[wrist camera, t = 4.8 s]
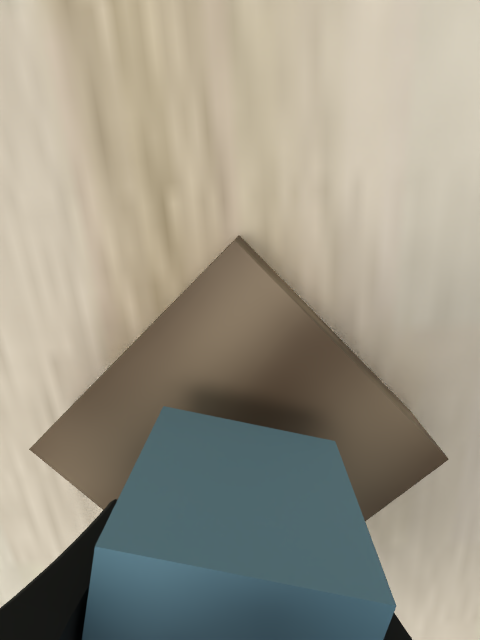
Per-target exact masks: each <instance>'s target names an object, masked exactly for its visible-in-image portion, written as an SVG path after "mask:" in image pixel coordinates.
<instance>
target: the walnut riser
mask: <svg viewBox="0 0 480 640" xmlns="http://www.w3.org/2000/svg"><path fill="white" fill-rule="evenodd" d="M163 406H165V407H170V408H175V409H180V410H185V411H190V412H195V413H200V414H205V415H210V416H214V417H219V418H224V419H229V420H234V421H239V422H244V423H249V424H254V425H259V426H264V427H268V428H273V429H278V430H283V431H288V432H293V433H298V434H303V435H308V436H313V437H317V438H322V439H327V440H332V441H335V442H336V444H337V447H338V450H339V453H340V455H341V458H342V461H343V463H344V466H345V469H346V471H347V474H348V477H349V480H350V482H351V485H352V488H353V490H354V493H355V496H356V498H357V501H358V504H359V507H360V509H361V512H362V515H363V517H364V520H365V521H366V520H367V519H369V518H370V517H372V516H373V515H374V514H376V513H377V512H378V511H380V510H381V509H382V508H384V507H385V506H386V505H388V504H389V503H390V502H392V501H393V500H394V499H396V498H397V497H399V496H400V495H401V494H403V493H404V492H405V491H407V490H408V489H409V488H411V487H412V486H413V485H415V484H416V483H417V482H419V481H420V480H421V479H423V478H424V477H426V476H427V475H428V474H430V473H431V472H432V471H434V470H435V469H436V468H438V467H439V466H440V465H442V464H443V463H444V462H446V461H447V460H448V458H447V456H446V455H445V454H444V453H443V451H442V450H441V449H440V448H439V446H438V445H437V444H436V443H435V441H434V440H433V439H432V438H431V436H430V435H429V434H428V433H427V431H426V430H425V429H424V428H423V426H422V425H421V424H420V423H419V421H418V420H417V419H416V418H415V416H414V415H413V414H412V413H411V411H410V410H409V409H408V408H407V407H406V406H405V405H404V404H403V403H402V402H401V401H400V400H399V399H398V398H397V397H396V396H395V395H394V394H393V393H392V392H391V391H390V390H389V389H388V388H387V387H386V386H385V385H384V384H383V383H382V382H381V381H380V380H379V378H378V377H377V376H376V375H375V374H374V373H373V372H372V371H371V370H370V369H369V368H368V367H367V366H366V365H365V364H364V363H363V362H362V361H361V360H360V359H359V358H358V357H357V356H356V355H355V354H354V353H353V352H352V351H351V350H350V349H349V348H348V347H347V346H346V345H345V344H344V343H343V341H342V340H341V339H340V338H339V337H338V336H337V335H336V334H335V333H334V332H333V331H332V330H331V329H330V328H329V327H328V326H327V325H326V324H325V323H324V322H323V321H322V320H321V319H320V318H319V317H318V316H317V315H316V314H315V313H314V312H313V311H312V310H311V309H310V308H309V307H308V306H307V304H306V303H305V302H304V301H303V300H302V299H301V298H300V297H299V296H298V295H297V294H296V293H295V292H294V291H293V290H292V289H291V288H290V287H289V286H288V285H287V284H286V283H285V282H284V281H283V280H282V279H281V278H280V277H279V276H278V275H277V274H276V273H275V272H274V271H273V270H272V269H271V267H270V266H269V265H268V264H267V263H266V262H265V261H264V260H263V259H262V258H261V257H260V256H259V255H258V254H257V253H256V252H255V251H254V250H253V249H252V248H251V247H250V246H249V245H248V244H247V243H246V242H245V241H244V240H243V239H242V238H241V237H240V236H238V237H237V238H236V239H235V240H234V241H233V242H232V243H231V244H230V245H229V246H228V247H227V248H226V249H225V250H224V251H223V252H222V253H221V254H220V255H219V256H218V257H217V258H216V259H215V260H214V261H213V263H212V264H211V265H210V266H209V267H208V268H207V269H206V270H205V271H204V272H203V273H202V274H201V275H200V276H199V277H198V278H197V279H196V280H195V281H194V282H193V283H192V284H191V285H190V286H189V287H188V288H187V289H186V290H185V291H184V292H183V293H182V294H181V295H180V296H179V297H178V298H177V299H176V300H175V301H174V302H173V303H172V304H171V305H170V306H169V307H168V308H167V309H166V310H165V311H164V312H163V313H162V314H161V315H160V316H159V317H158V318H157V319H156V320H155V321H154V323H153V324H152V325H151V326H150V327H149V328H148V329H147V330H146V331H145V332H144V333H143V334H142V335H141V336H140V337H139V338H138V339H137V340H136V341H135V342H134V343H133V344H132V345H131V346H130V347H129V348H128V349H127V350H126V351H125V352H124V353H123V354H122V355H121V356H120V357H119V358H118V359H117V360H116V361H115V362H114V363H113V364H112V365H111V366H110V367H109V368H108V369H107V370H106V371H105V372H104V373H103V374H102V375H101V376H100V377H99V378H98V379H97V380H96V381H95V383H94V384H93V385H92V386H91V387H90V388H89V389H88V390H87V391H86V392H85V393H84V394H83V395H82V396H81V397H80V398H79V399H78V400H77V401H76V402H75V403H74V404H73V405H72V406H71V407H70V408H69V409H68V410H67V411H66V412H65V413H64V414H63V415H62V416H61V417H60V418H59V419H58V420H57V421H56V422H55V423H54V424H53V425H52V426H51V428H50V429H49V430H48V431H47V432H46V433H45V434H44V435H43V436H42V437H41V438H40V439H39V440H38V441H37V442H36V443H35V444H34V445H33V446H32V447H31V448H30V449H29V450H31V451H32V452H33V453H34V454H36V455H37V456H38V457H39V458H41V459H42V460H43V461H44V462H45V463H47V464H48V465H49V466H50V467H52V468H53V469H54V470H55V471H56V472H58V473H59V474H60V475H61V476H63V477H64V478H65V479H66V480H67V481H69V482H70V483H71V484H72V485H74V486H75V487H76V488H77V489H78V490H80V491H81V492H82V493H83V494H85V495H86V496H87V497H88V498H89V499H91V500H92V501H93V502H94V503H96V504H97V505H98V506H99V507H101V508H102V509H103V510H104V509H105V508H106V507H107V505H108V504H109V503H110V502H111V501H113V500H115V499H117V500H118V498H119V496H120V494H121V492H122V490H123V488H124V486H125V484H126V482H127V480H128V478H129V476H130V474H131V472H132V469H133V467H134V465H135V463H136V461H137V459H138V457H139V455H140V453H141V451H142V449H143V447H144V445H145V443H146V441H147V439H148V437H149V435H150V433H151V431H152V428H153V426H154V424H155V422H156V420H157V418H158V416H159V414H160V412H161V410H162V408H163Z"/></svg>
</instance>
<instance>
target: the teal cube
mask: <svg viewBox="0 0 480 640" xmlns="http://www.w3.org/2000/svg"><path fill="white" fill-rule="evenodd" d="M395 608H396V604H395V601H394V598H393V596H392V593H391V590H390V588H389V585H388V582H387V579H386V577H385V574H384V571H383V569H382V566H381V563H380V561H379V558H378V555H377V552H376V550H375V547H374V544H373V542H372V539H371V536H370V534H369V531H368V528H367V525H366V523H365V520H364V517H363V515H362V512H361V509H360V507H359V504H358V501H357V498H356V496H355V493H354V490H353V488H352V485H351V482H350V480H349V477H348V474H347V471H346V469H345V466H344V463H343V461H342V458H341V455H340V453H339V450H338V447H337V444H336V442H335V441H332V440H327V439H322V438H317V437H313V436H308V435H303V434H298V433H293V432H288V431H283V430H278V429H273V428H268V427H264V426H259V425H254V424H249V423H244V422H239V421H234V420H229V419H224V418H219V417H214V416H210V415H205V414H200V413H195V412H190V411H185V410H180V409H175V408H170V407H165V406H163V408H162V410H161V412H160V414H159V416H158V418H157V420H156V422H155V424H154V426H153V428H152V431H151V433H150V435H149V437H148V439H147V441H146V443H145V445H144V447H143V449H142V451H141V453H140V455H139V457H138V459H137V461H136V463H135V465H134V467H133V469H132V472H131V474H130V476H129V478H128V480H127V482H126V484H125V486H124V488H123V490H122V492H121V494H120V496H119V498H118V500H117V502H116V504H115V506H114V508H113V510H112V512H111V515H110V517H109V519H108V521H107V523H106V525H105V527H104V529H103V531H102V533H101V535H100V537H99V539H98V541H97V543H96V545H95V549H94V557H93V564H92V571H91V578H90V585H89V593H88V600H87V607H86V614H85V621H84V628H83V636H82V640H383V639H384V637H385V634H386V631H387V629H388V626H389V624H390V621H391V618H392V616H393V613H394V611H395Z"/></svg>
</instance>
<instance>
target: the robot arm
mask: <svg viewBox="0 0 480 640" xmlns="http://www.w3.org/2000/svg"><path fill="white" fill-rule="evenodd" d="M116 502H117V499H115V500H113V501H111V502H110V503H109V504H108V505H107V507H106V508H105V509H104V510H103V511H102V512H101V513H100V515H99V516H98V517H97V518H96V519H95V520H94V521H93V522H92V523H91V525H90V526H89V527H88V528H87V529H86V530H85V531H84V532H83V533H82V534H81V535H80V536H79V537H78V538H77V539H76V540H75V541H74V542H73V543H72V544H71V545H70V546H69V547H68V548H67V549H66V550H65V551H64V552H63V553H62V554H61V555H60V556H59V557H58V558H57V559H56V560H55V561H54V562H53V563H51V564H50V565H49V566H48V567H47V568H46V569H45V570H44V571H43V572H42V573H40V574H39V575H38V576H37V577H36V578H35V579H34V580H33V581H31V582H30V583H29V584H28V585H27V586H26V587H25V588H24V589H22V590H21V591H20V592H19V593H18V594H17V595H16V596H14V597H13V598H12V599H11V600H10V601H8V602H7V603H6V604H5V605H3V606H2V607H1V608H0V640H82V636H83V628H84V621H85V614H86V607H87V600H88V593H89V585H90V578H91V571H92V564H93V557H94V549H95V545H96V543H97V541H98V539H99V537H100V535H101V533H102V531H103V529H104V527H105V525H106V523H107V521H108V519H109V517H110V515H111V512H112V510H113V508H114V506H115V504H116ZM383 640H412V638H411V637H410V635H409V634H408V633H407V631H406V630H405V628H404V627H403V625H402V624H401V622H400V621H399V619H398V618H397V616H396V615H395V613H393V616H392V618H391V621H390V624H389V626H388V629H387V631H386V634H385V637H384V639H383Z"/></svg>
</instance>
